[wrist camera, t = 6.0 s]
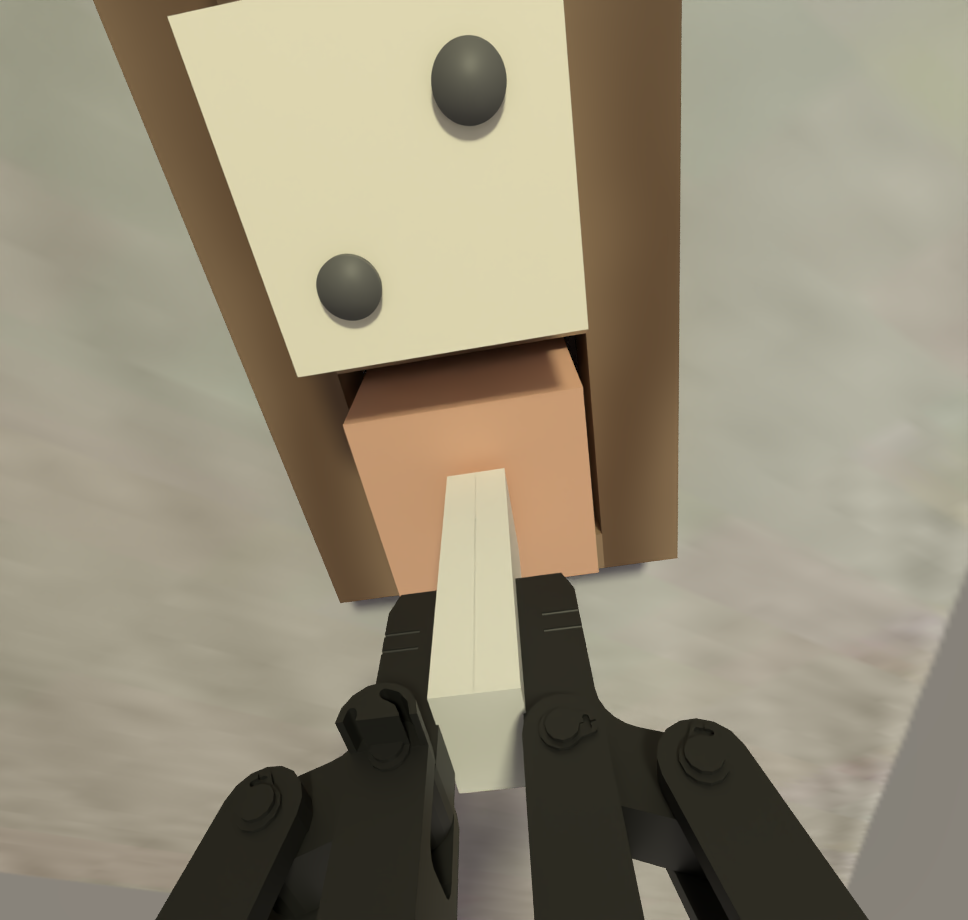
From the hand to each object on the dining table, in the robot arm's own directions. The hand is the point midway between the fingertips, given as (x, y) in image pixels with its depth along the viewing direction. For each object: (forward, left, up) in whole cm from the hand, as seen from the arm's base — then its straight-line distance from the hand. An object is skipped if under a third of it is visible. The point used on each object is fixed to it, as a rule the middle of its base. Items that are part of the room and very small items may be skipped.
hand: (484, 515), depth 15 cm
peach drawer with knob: (0, 0, -4) cm, 4 cm away
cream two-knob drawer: (0, +8, -3) cm, 8 cm away
